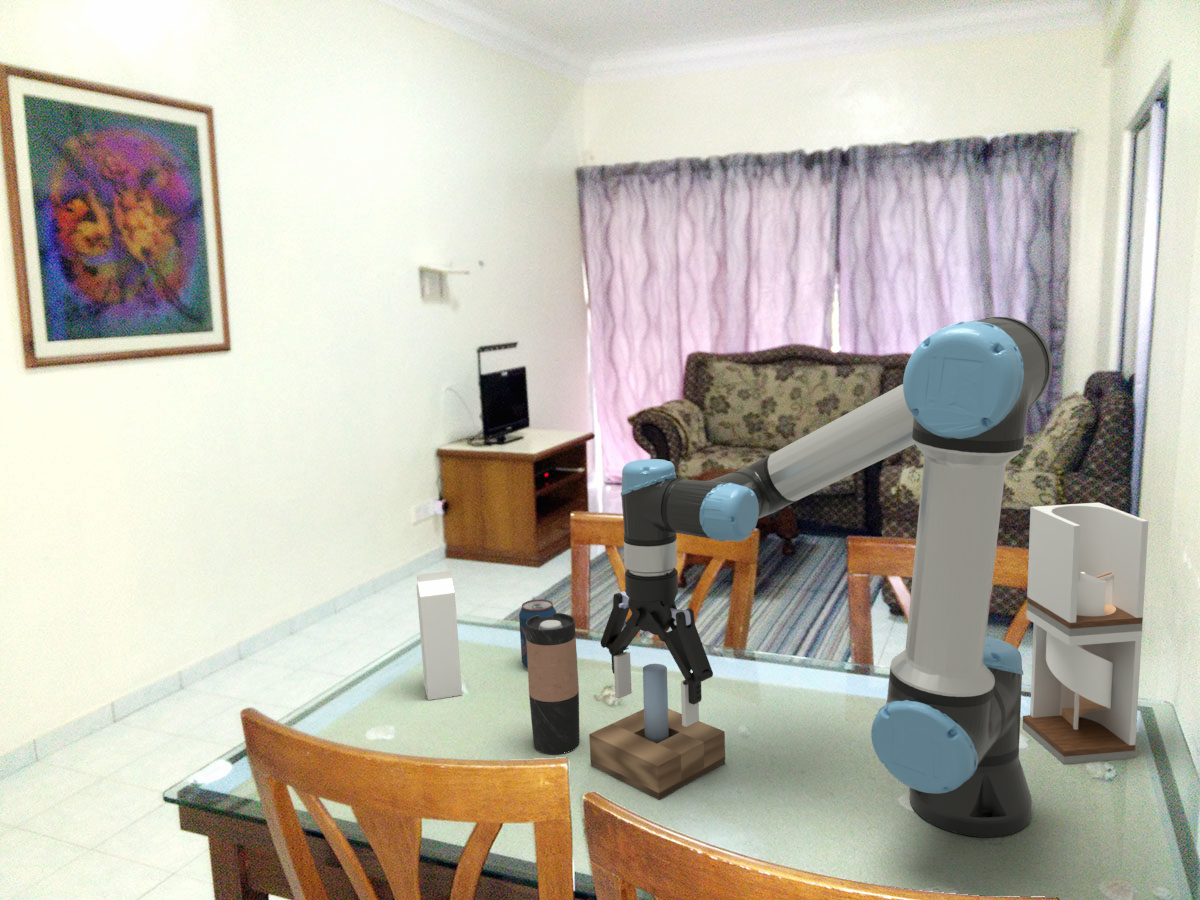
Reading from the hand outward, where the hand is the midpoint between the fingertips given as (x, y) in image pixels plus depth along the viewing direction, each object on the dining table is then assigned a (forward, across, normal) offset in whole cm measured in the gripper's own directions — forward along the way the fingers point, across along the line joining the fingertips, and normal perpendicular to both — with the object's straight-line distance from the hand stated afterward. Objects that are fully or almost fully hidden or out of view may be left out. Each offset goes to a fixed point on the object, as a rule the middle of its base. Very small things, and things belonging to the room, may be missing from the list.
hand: (655, 708), depth 142 cm
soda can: (+9, +42, -12) cm, 45 cm away
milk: (+9, +46, +7) cm, 47 cm away
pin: (+8, 0, 0) cm, 8 cm away
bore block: (+9, 0, 0) cm, 9 cm away
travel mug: (+9, +16, +6) cm, 19 cm away
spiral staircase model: (+9, -41, -47) cm, 63 cm away
